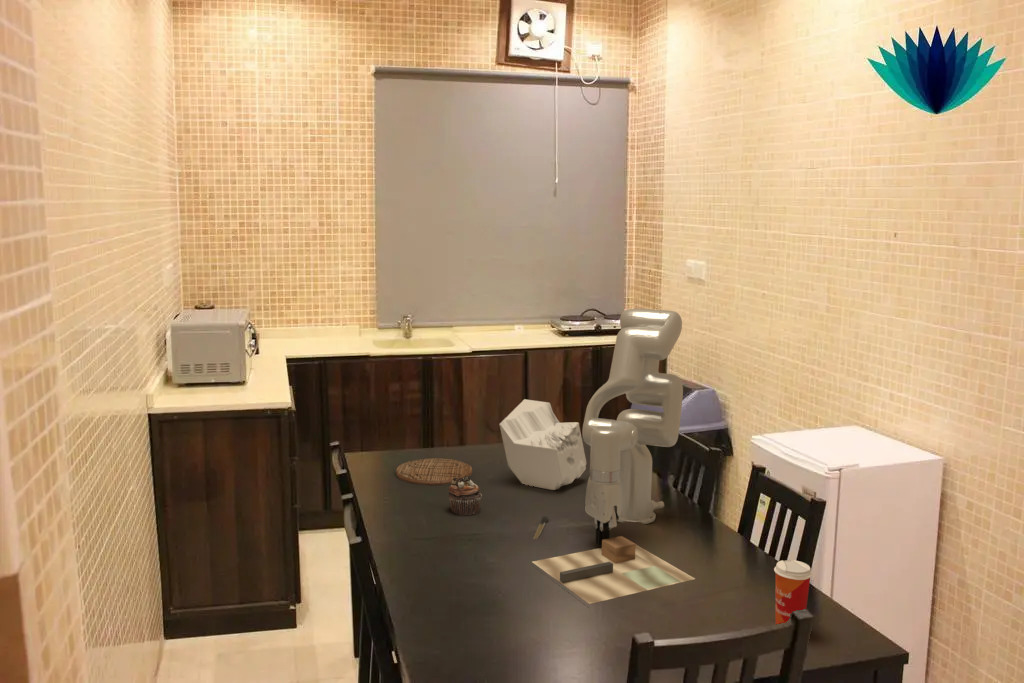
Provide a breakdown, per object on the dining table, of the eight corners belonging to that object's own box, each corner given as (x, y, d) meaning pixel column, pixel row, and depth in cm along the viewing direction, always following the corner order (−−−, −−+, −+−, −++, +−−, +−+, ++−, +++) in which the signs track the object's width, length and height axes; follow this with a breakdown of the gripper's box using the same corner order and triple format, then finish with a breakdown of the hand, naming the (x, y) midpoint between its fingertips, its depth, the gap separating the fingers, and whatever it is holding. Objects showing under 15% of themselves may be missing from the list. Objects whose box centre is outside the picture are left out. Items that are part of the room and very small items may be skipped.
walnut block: (621, 550, 225) (621, 536, 224) (635, 559, 220) (635, 544, 219) (601, 554, 222) (602, 539, 222) (615, 563, 217) (615, 548, 216)
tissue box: (591, 472, 285) (579, 406, 275) (568, 501, 273) (555, 433, 263) (537, 463, 296) (524, 398, 285) (513, 490, 284) (499, 424, 274)
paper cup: (765, 620, 190) (768, 559, 188) (799, 619, 191) (803, 558, 189) (778, 638, 182) (783, 574, 180) (814, 637, 183) (819, 573, 181)
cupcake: (462, 519, 249) (462, 485, 248) (442, 510, 256) (442, 476, 255) (488, 511, 255) (489, 478, 254) (467, 503, 263) (468, 470, 261)
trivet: (469, 487, 278) (469, 481, 278) (391, 485, 279) (391, 480, 278) (474, 464, 303) (474, 459, 303) (401, 463, 303) (401, 457, 303)
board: (631, 545, 231) (631, 541, 231) (695, 582, 209) (695, 578, 209) (531, 565, 217) (531, 561, 217) (589, 608, 195) (589, 603, 195)
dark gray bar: (609, 569, 213) (609, 561, 213) (612, 571, 212) (613, 563, 211) (559, 580, 206) (560, 572, 206) (563, 582, 205) (563, 574, 205)
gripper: (576, 469, 229) (574, 536, 232) (608, 485, 216) (606, 556, 219) (600, 465, 232) (598, 531, 235) (633, 481, 219) (631, 551, 222)
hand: (602, 543), depth 227 cm, fingers closed
